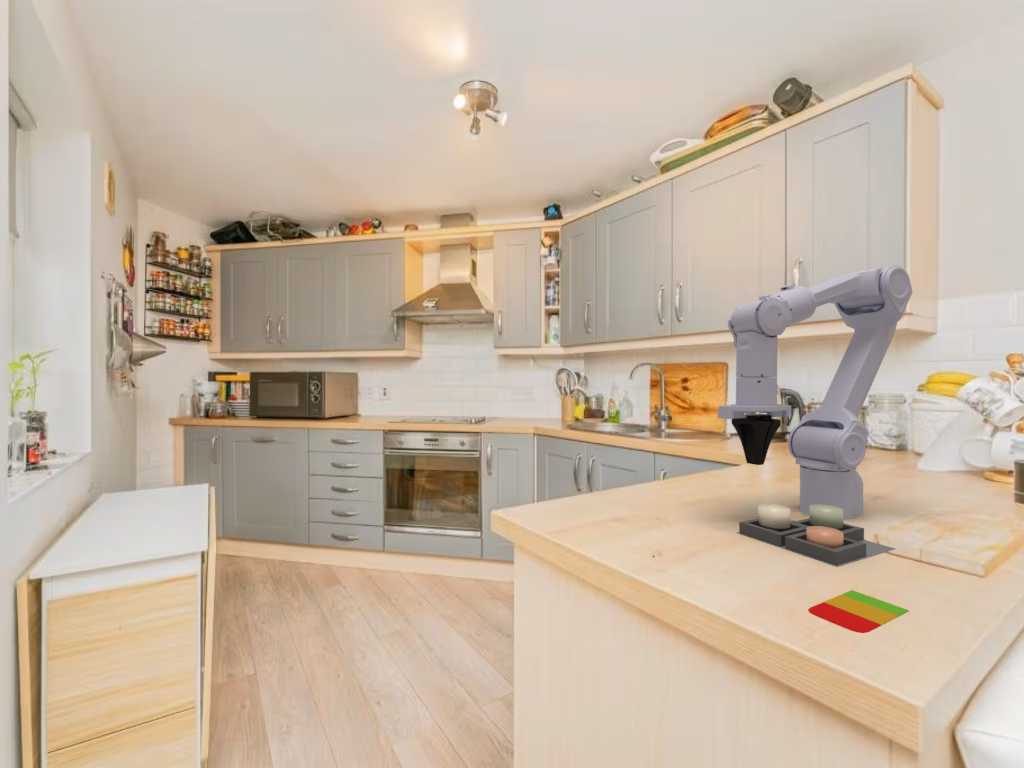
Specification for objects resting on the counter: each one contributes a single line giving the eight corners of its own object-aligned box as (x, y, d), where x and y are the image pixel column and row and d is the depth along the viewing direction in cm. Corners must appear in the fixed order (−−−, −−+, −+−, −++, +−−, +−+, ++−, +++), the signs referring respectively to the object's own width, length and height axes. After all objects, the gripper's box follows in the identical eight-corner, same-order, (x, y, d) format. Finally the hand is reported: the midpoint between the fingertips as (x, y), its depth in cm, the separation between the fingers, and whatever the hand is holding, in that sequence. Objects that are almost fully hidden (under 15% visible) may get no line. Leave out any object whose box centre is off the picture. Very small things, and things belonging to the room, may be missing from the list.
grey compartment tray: (792, 527, 74) (792, 510, 74) (895, 557, 62) (895, 536, 62) (736, 540, 69) (736, 521, 69) (837, 576, 56) (837, 553, 56)
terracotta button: (818, 541, 63) (818, 524, 63) (850, 551, 60) (850, 532, 60) (799, 546, 62) (799, 528, 62) (831, 557, 58) (831, 537, 58)
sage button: (820, 519, 69) (820, 502, 69) (849, 526, 66) (849, 509, 66) (803, 522, 68) (803, 506, 68) (832, 530, 64) (832, 513, 64)
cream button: (770, 518, 70) (770, 502, 70) (796, 526, 66) (796, 509, 66) (752, 522, 68) (752, 506, 68) (778, 530, 64) (778, 513, 64)
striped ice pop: (799, 628, 46) (799, 608, 46) (877, 593, 53) (877, 576, 53) (863, 657, 41) (863, 636, 41) (939, 615, 48) (939, 596, 48)
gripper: (763, 378, 80) (762, 457, 80) (702, 376, 74) (701, 462, 74) (804, 378, 74) (803, 463, 74) (741, 376, 68) (740, 470, 68)
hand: (755, 463), depth 73 cm, fingers closed
